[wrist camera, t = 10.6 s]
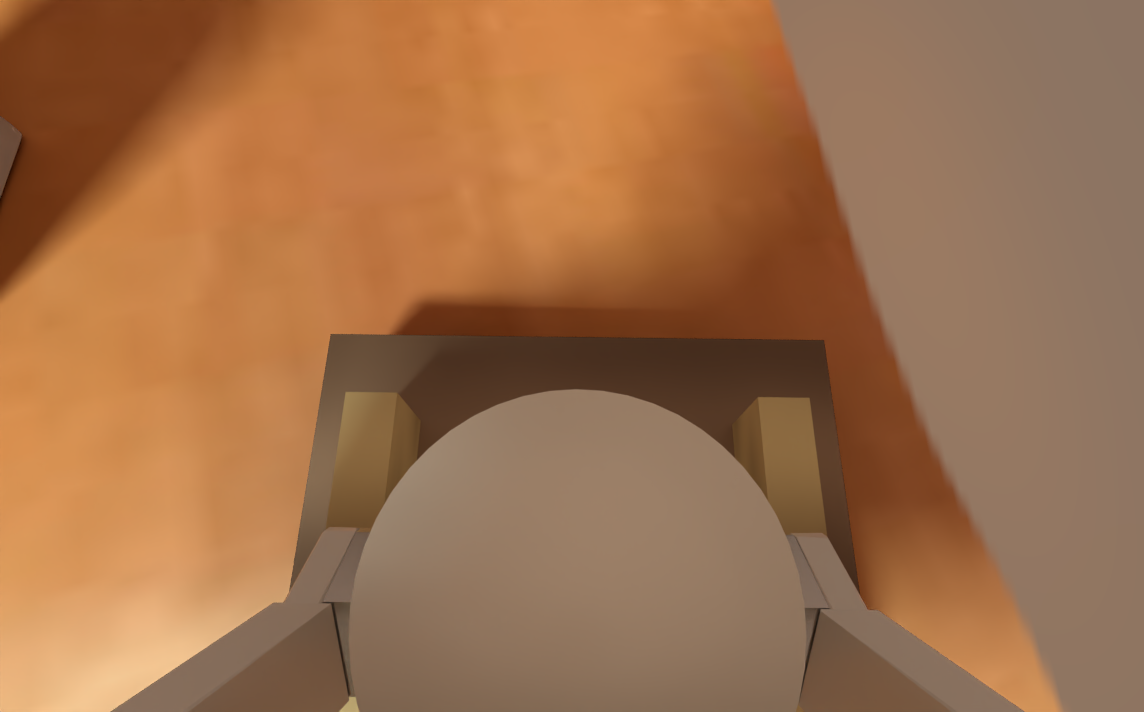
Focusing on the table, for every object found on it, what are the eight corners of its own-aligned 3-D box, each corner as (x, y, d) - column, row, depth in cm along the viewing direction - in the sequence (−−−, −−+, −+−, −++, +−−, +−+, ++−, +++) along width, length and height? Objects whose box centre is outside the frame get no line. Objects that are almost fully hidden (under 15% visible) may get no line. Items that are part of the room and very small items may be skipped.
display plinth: (852, 906, 16) (989, 1055, 11) (289, 899, 16) (154, 1043, 11) (789, 374, 21) (861, 301, 16) (362, 369, 21) (295, 294, 16)
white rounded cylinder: (428, 560, 14) (278, 522, 7) (607, 456, 15) (646, 321, 8) (531, 773, 13) (480, 1011, 6) (722, 643, 14) (903, 697, 6)
